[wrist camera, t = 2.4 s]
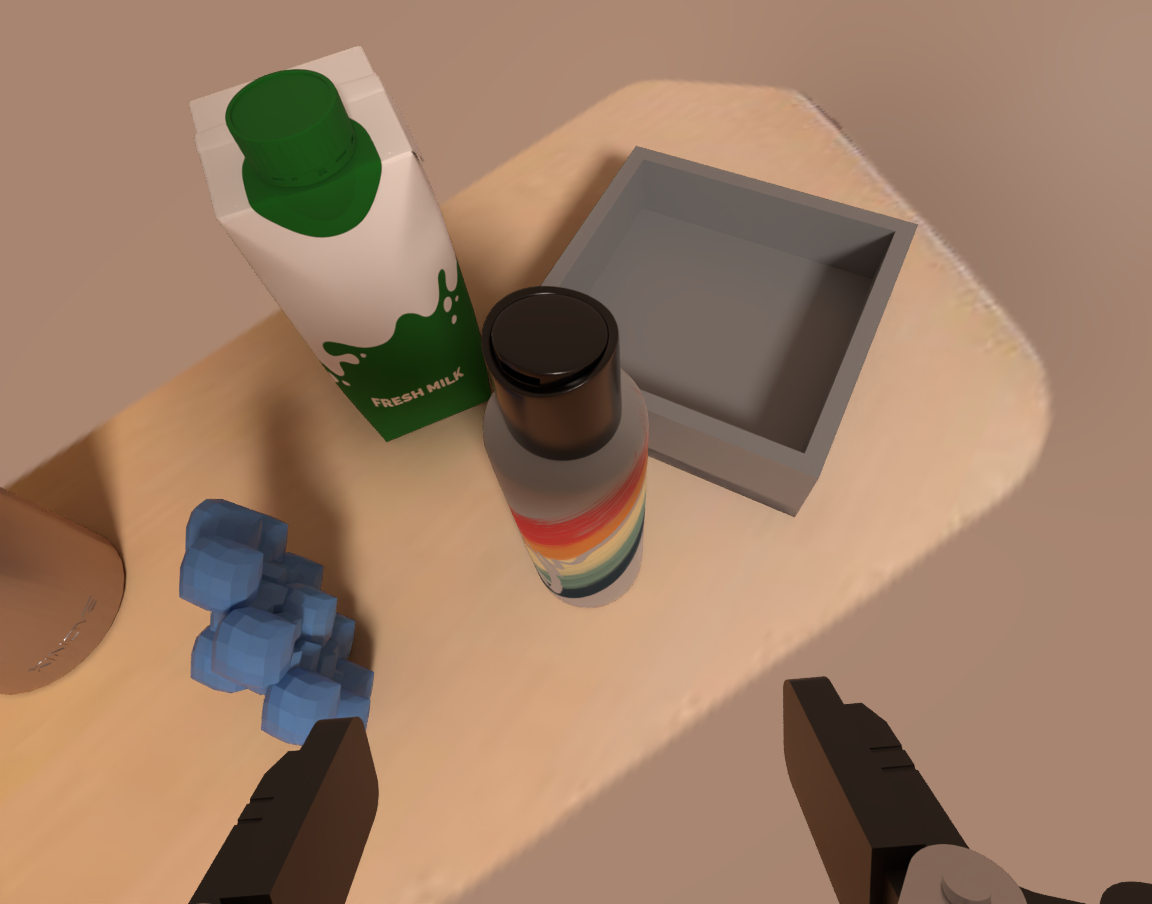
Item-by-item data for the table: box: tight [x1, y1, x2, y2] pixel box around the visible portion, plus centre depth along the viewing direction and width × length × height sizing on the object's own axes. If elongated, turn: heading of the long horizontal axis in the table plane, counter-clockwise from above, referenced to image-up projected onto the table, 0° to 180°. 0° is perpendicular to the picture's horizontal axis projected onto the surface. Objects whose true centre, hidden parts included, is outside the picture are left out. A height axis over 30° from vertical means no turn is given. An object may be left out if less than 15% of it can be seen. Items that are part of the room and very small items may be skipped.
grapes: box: [179, 499, 374, 746], centre depth 28 cm, size 12×7×12 cm, turn 30°
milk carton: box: [189, 46, 491, 442], centre depth 33 cm, size 9×9×20 cm
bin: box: [541, 146, 918, 517], centre depth 39 cm, size 18×18×5 cm
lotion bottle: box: [481, 286, 649, 608], centre depth 26 cm, size 6×6×20 cm
